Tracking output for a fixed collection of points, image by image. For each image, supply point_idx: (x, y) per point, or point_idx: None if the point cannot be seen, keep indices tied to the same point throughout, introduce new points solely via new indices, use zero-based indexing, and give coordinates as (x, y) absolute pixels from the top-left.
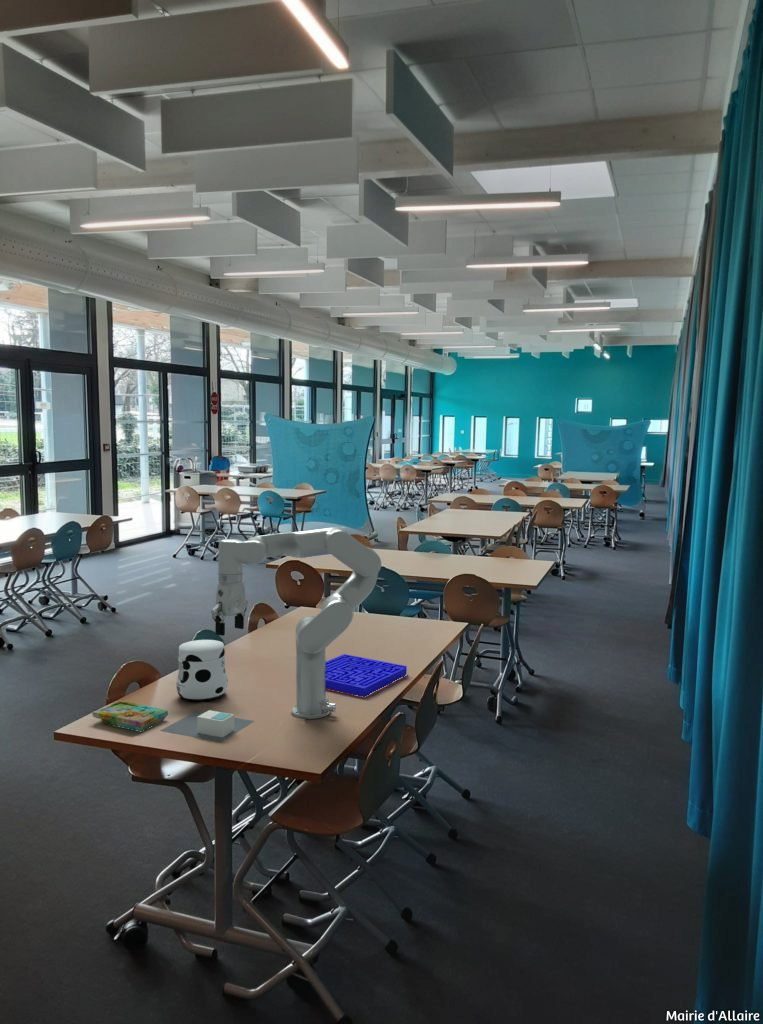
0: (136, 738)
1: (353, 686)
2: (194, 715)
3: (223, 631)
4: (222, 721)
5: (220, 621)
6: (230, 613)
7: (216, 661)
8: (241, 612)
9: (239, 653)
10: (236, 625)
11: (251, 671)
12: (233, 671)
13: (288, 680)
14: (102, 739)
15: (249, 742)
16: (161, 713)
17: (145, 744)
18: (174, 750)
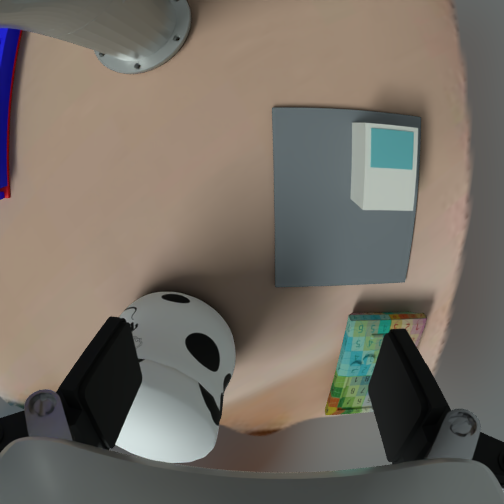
0: (434, 298)
1: (7, 33)
2: (303, 274)
3: (416, 348)
4: (416, 128)
5: (476, 427)
6: (444, 487)
7: (157, 356)
8: (103, 450)
9: (6, 372)
10: (133, 380)
11: (27, 318)
12: (49, 347)
13: (11, 221)
14: (443, 340)
15: (384, 58)
16: (370, 320)
17: (455, 265)
18: (467, 195)
